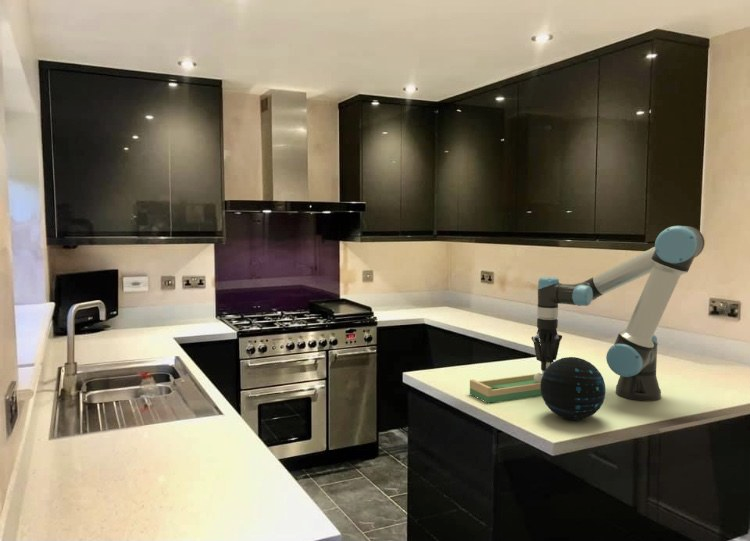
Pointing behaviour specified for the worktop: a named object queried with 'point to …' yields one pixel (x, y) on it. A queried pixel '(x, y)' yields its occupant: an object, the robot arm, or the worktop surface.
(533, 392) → the tray
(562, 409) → the decorative sphere
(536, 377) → the ball
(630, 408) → the worktop surface
